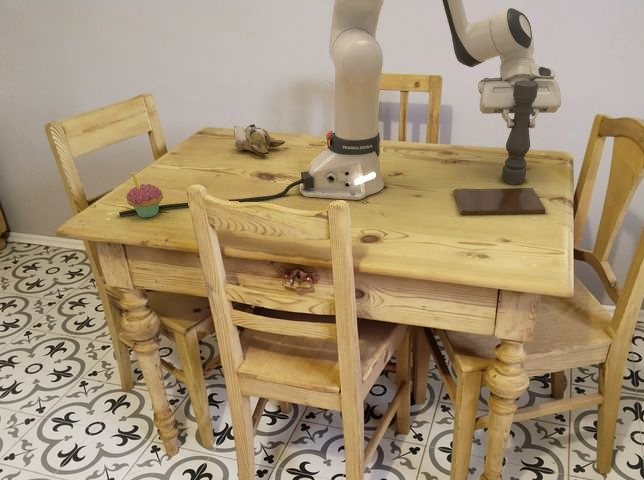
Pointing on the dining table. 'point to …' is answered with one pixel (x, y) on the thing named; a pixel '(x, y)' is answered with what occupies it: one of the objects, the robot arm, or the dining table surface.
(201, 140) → the dining table surface
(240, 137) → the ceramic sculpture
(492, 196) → the board
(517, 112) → the candle holder
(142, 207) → the cupcake
